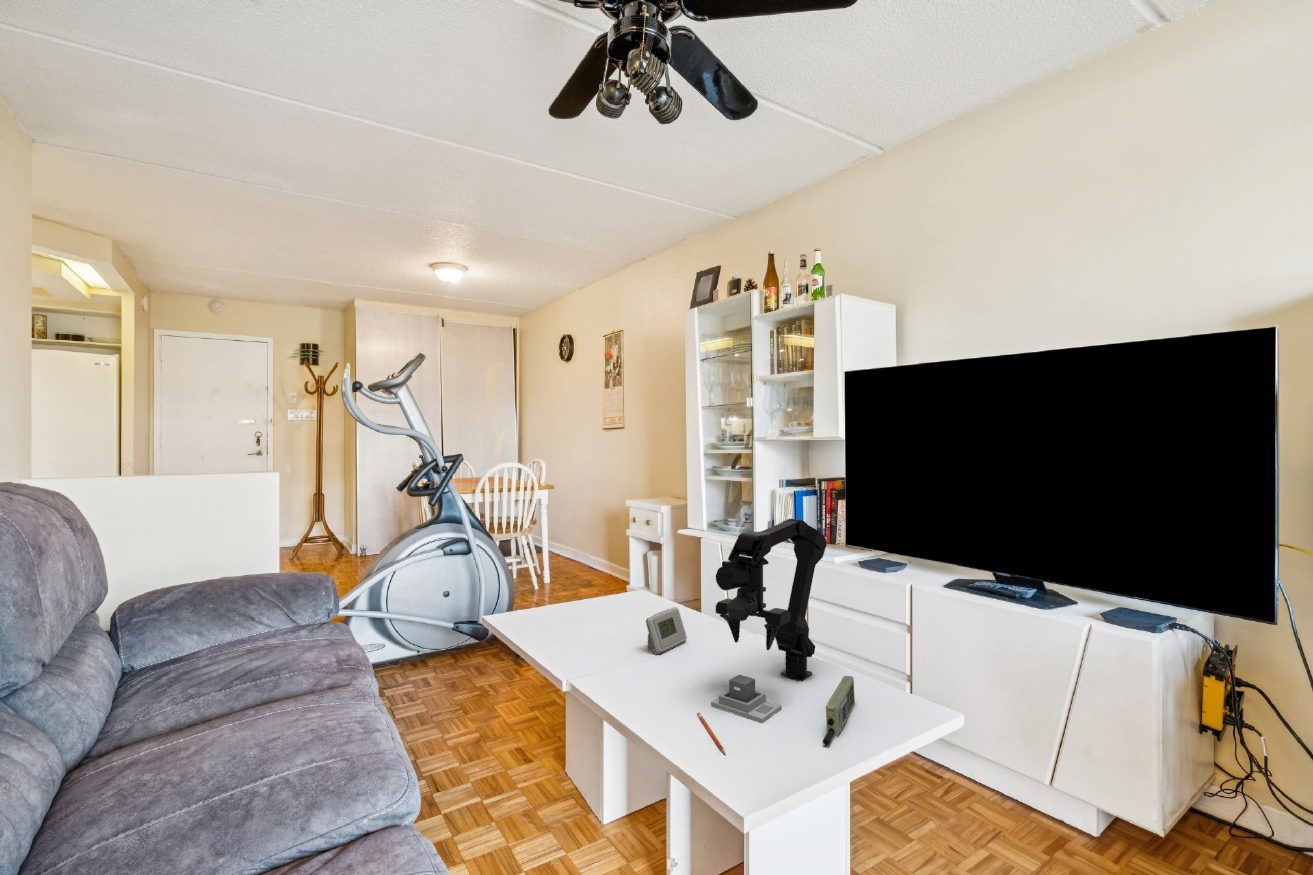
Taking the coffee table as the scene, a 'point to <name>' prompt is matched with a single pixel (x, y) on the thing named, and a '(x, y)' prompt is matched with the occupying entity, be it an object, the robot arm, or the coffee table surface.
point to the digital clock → (665, 630)
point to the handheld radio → (839, 708)
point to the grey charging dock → (748, 706)
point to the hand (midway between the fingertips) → (752, 645)
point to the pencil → (711, 733)
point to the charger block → (742, 688)
